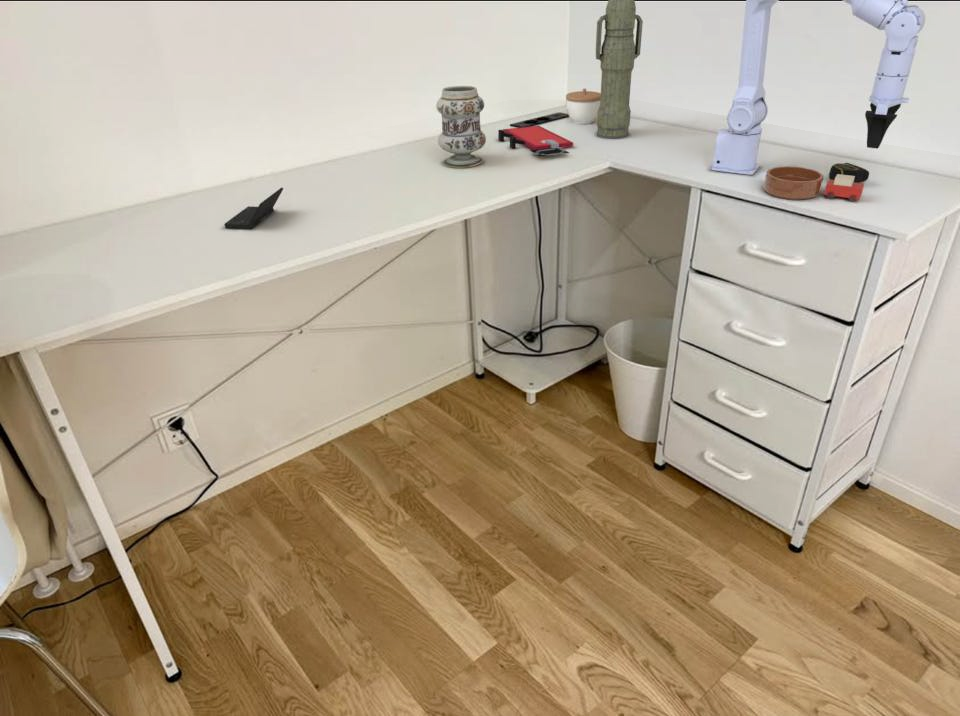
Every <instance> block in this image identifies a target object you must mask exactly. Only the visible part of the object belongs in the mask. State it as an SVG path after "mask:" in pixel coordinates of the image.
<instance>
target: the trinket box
mask: <svg viewBox="0 0 960 716" xmlns="http://www.w3.org/2000/svg"><path fill="white" fill-rule="evenodd" d="M600 97H601V92H598V91H592V90H591V91H590V90H587V88H582V91H580V90H579V91H572V92H569V93H566V95H565V100H566V101H565V103H566V104H565V107H566V112H567V115H568V117H569V119H571V120H572V122H573V123H574V124H578V125H588V124H592V123H594V121H595V120H597V116H598V109H599V106H600Z"/></svg>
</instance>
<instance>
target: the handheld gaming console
mask: <svg viewBox="0 0 960 716" xmlns="http://www.w3.org/2000/svg"><path fill="white" fill-rule="evenodd" d="M283 191H284V188H283V187H280V188H279V189H278V190H275V192H273V193H271V195H270V196H268V197H267V198H265V199H264V200H262V201H261V202H260V203H259V205H258V206H249V205H248V206H247V207H245V208H244V209H242V210H241V211H240V212H238V213H237V214H236V215H233V217H232V218H230V219H228V221H226V222H224V228H225V229H235V230H237V229H238V230H239V229H240V230H252V229H254V228H256V226H258V224H260V223H261V222H262V221H263V220H264V219H266V218H267V217H269V216H270V215H271V214H272V213H274V211H275V209H274V207H275V205H276V203H277V201H278V199H279V198H280V196H281V194H282V192H283Z"/></svg>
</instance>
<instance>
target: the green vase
mask: <svg viewBox="0 0 960 716" xmlns="http://www.w3.org/2000/svg"><path fill="white" fill-rule="evenodd" d="M636 10H637V6H636V1H635V0H608V1H607V3H606V7H605V14H603V15H602V16H600V17H599V19H597V22H596V35H595V60H599V61H600V65H599V66H600V67H599V68H600V71H601V79H600V80H601V81H600V82H601V83H600V93H601V97H600V106H599V109H598V116H597V118H596V126H597V132H596V135H597V137H599V138H601V139H606V140H618V139H619V140H620V139H624V138H627V137H628V136H629V127H630V126H631V114H632V113H631V112H632V110H631V107H630V99H631V86H632V85H631V84H632V72H633V69H634V68H635V60H636V59H637V58H638V57H639V56H640V55H641V48H642V47H641V46H642V36H643V35H642V34H643V24H644V20H643V19H642V17H641V16H640V15H638V14H636V12H637V11H636ZM603 22H604V30H605V31H604V37H603V42H602V35H603V34H602V33H603V32H602V30H603V28H602V27H603ZM635 26H636V33H635V34H634V29H635ZM634 38H635V39H634Z"/></svg>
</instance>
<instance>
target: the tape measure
mask: <svg viewBox="0 0 960 716" xmlns="http://www.w3.org/2000/svg"><path fill="white" fill-rule="evenodd" d="M837 174H841V175H850V176H855V178H854V182H855V183H864V182H866V181H867V180H869V177H870V171H869V170H868V169H865V168H864V167H862V166H859V165H856V164H854V163H853V164H852V163H849V162H844V163H841V162H840V163H838V162H837V163H834V164H833V165H831V167H830V169H829V173H828V180H829V179H830V180H835V177H836V176H837Z"/></svg>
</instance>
